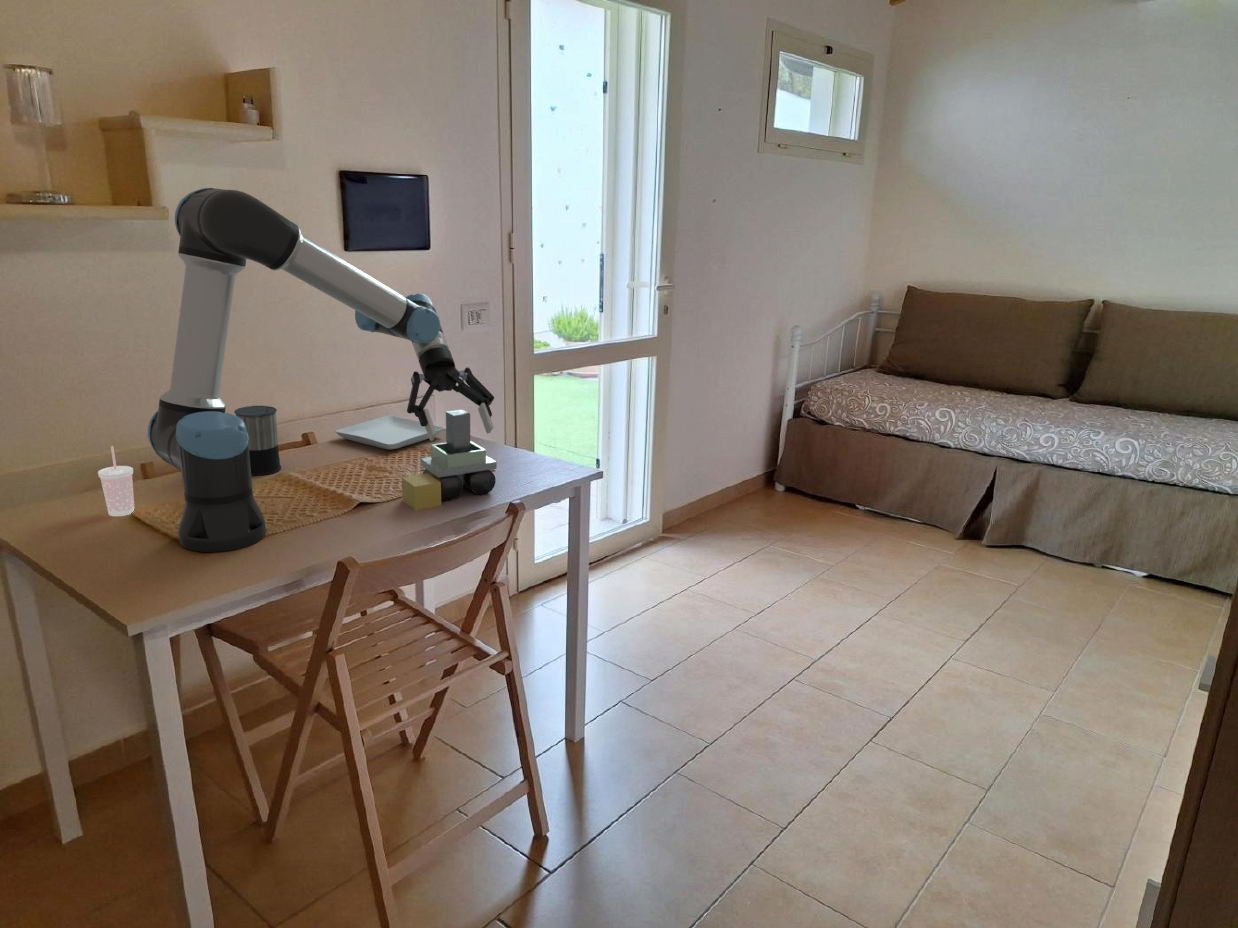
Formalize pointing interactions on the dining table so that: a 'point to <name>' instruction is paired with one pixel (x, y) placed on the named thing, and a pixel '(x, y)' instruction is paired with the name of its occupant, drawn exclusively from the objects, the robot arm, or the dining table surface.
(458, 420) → the pin
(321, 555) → the dining table surface
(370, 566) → the dining table surface
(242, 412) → the milk frother
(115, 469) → the beverage cup
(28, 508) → the dining table surface
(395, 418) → the salad plate
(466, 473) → the box
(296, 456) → the dining table surface
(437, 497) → the block
